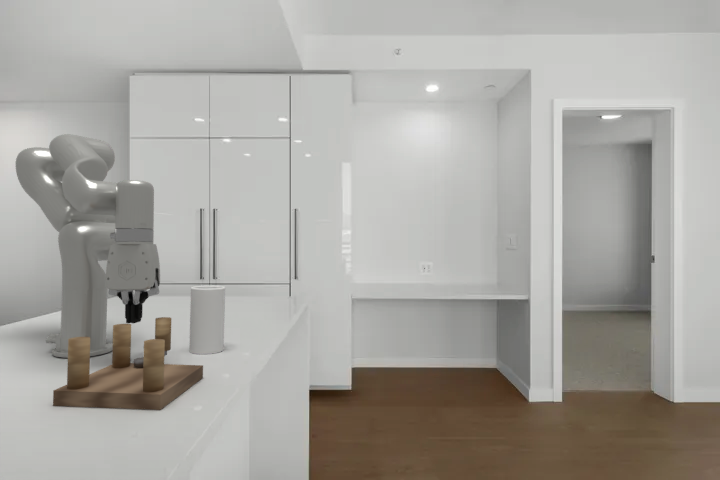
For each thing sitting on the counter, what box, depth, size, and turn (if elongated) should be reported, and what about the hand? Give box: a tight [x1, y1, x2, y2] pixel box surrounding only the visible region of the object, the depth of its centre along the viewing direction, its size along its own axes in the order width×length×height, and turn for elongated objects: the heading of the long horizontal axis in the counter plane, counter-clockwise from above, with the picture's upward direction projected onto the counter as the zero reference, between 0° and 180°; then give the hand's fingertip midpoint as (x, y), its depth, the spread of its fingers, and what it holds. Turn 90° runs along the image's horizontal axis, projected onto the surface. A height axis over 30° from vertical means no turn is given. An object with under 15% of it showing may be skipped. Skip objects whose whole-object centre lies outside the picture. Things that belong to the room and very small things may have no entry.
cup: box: [188, 285, 226, 355], centre depth 116 cm, size 8×8×16 cm
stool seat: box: [52, 323, 204, 411], centre depth 84 cm, size 18×18×11 cm
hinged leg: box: [133, 316, 172, 367], centre depth 96 cm, size 12×3×8 cm, turn 178°
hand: (133, 322), depth 100 cm, fingers closed
